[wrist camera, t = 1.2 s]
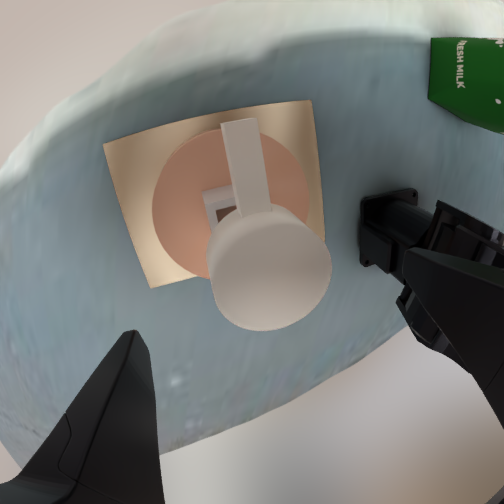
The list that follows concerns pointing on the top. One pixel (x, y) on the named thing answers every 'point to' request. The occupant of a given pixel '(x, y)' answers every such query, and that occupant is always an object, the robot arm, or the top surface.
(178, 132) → the birch board
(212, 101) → the top surface
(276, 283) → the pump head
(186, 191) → the soap jar
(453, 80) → the milk carton
